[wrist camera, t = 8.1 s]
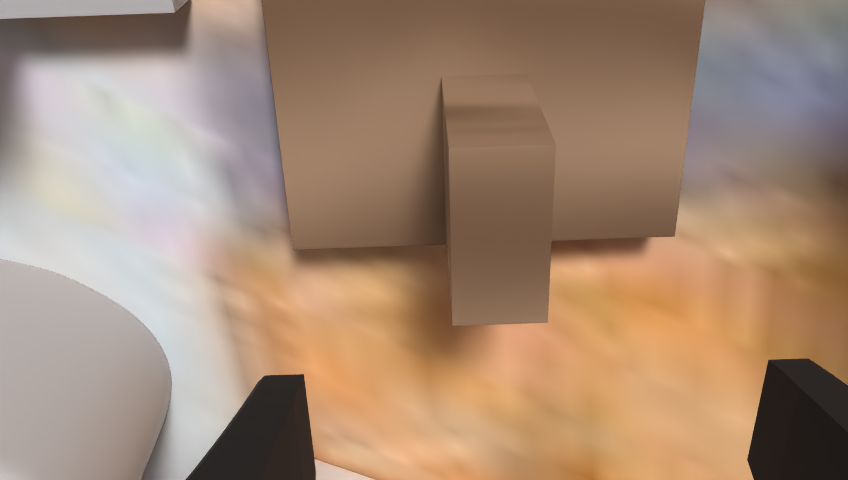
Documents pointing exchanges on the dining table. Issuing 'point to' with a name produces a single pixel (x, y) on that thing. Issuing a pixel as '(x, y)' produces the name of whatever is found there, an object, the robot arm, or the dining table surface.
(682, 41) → the walnut strip
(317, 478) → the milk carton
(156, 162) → the dining table surface
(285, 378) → the robot arm
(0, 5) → the slate strip
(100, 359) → the lumpy-topped squat cylinder
